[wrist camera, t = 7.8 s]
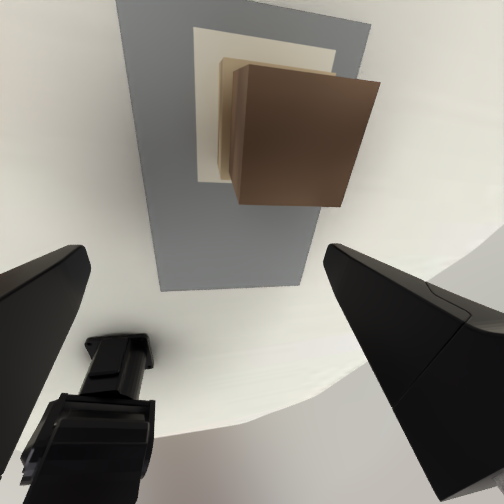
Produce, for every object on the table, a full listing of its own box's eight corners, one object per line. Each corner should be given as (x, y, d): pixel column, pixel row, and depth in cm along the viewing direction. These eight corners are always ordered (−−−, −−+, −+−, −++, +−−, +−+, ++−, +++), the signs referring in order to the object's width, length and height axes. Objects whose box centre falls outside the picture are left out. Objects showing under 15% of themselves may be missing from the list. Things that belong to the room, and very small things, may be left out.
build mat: (298, 283, 28) (299, 285, 27) (161, 288, 25) (160, 292, 24) (367, 25, 15) (372, 24, 15) (113, -23, 13) (111, -27, 12)
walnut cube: (304, 176, 16) (340, 207, 12) (228, 172, 15) (238, 204, 11) (324, 83, 13) (380, 82, 9) (233, 71, 12) (248, 64, 8)
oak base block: (292, 167, 19) (310, 183, 16) (217, 163, 18) (220, 179, 15) (309, 75, 16) (336, 73, 13) (219, 63, 15) (223, 57, 12)
